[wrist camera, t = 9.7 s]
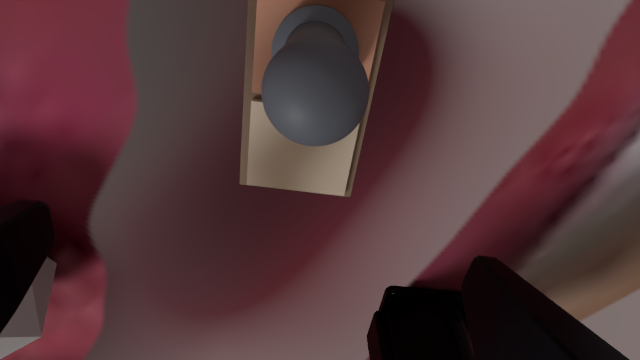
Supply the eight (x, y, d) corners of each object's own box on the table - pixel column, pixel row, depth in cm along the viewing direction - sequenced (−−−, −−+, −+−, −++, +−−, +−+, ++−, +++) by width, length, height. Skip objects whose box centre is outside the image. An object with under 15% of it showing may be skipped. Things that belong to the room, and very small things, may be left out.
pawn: (364, 11, 16) (398, 52, 9) (348, 95, 18) (368, 178, 11) (277, -3, 16) (250, 29, 9) (270, 83, 17) (243, 163, 11)
